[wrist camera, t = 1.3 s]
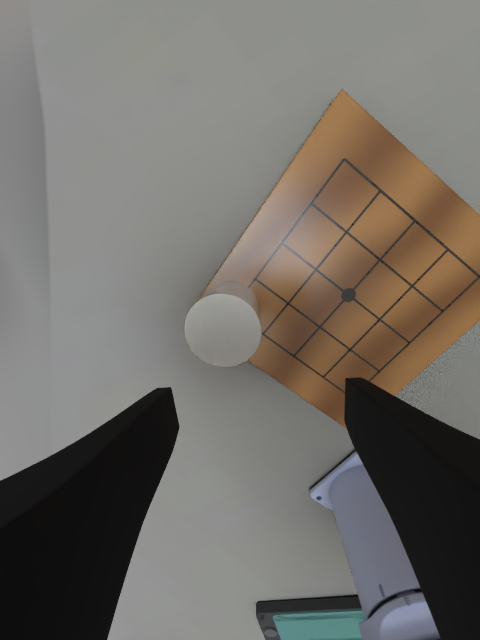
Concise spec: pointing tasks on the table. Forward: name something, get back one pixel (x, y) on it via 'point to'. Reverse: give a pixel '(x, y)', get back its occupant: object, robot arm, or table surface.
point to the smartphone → (311, 619)
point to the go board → (357, 263)
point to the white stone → (224, 325)
